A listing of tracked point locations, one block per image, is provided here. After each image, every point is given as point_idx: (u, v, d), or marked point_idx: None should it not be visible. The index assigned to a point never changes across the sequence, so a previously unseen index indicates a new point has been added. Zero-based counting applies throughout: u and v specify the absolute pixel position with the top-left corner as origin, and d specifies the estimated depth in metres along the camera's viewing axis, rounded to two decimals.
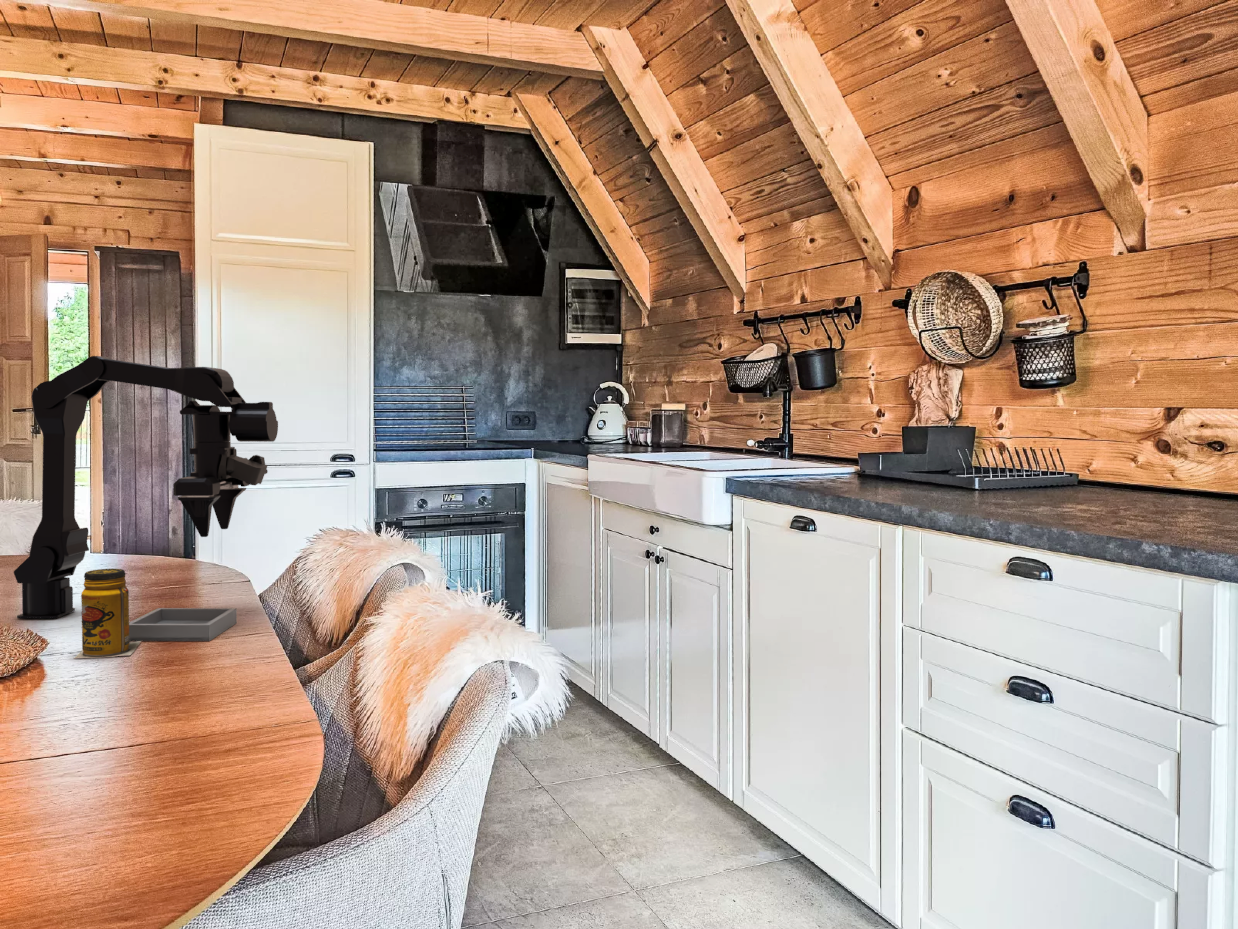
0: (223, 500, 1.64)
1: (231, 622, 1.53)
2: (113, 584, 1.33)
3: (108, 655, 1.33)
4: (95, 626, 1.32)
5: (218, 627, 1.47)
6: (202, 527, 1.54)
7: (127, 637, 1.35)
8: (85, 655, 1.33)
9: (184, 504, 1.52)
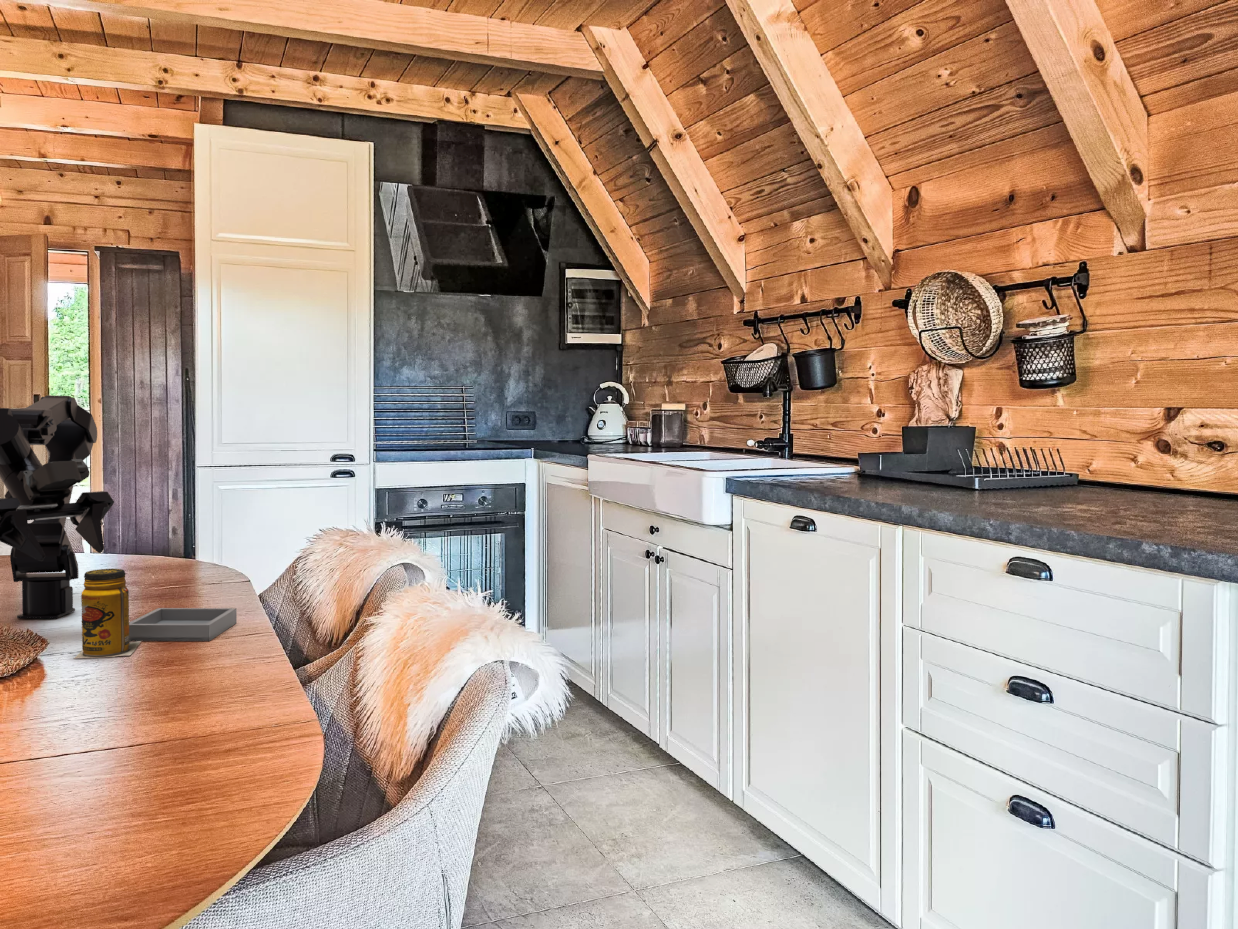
0: (88, 527, 1.45)
1: (231, 622, 1.53)
2: (113, 584, 1.33)
3: (108, 655, 1.33)
4: (95, 626, 1.32)
5: (218, 627, 1.47)
6: (33, 551, 1.35)
7: (127, 637, 1.35)
8: (85, 655, 1.33)
9: (4, 541, 1.35)
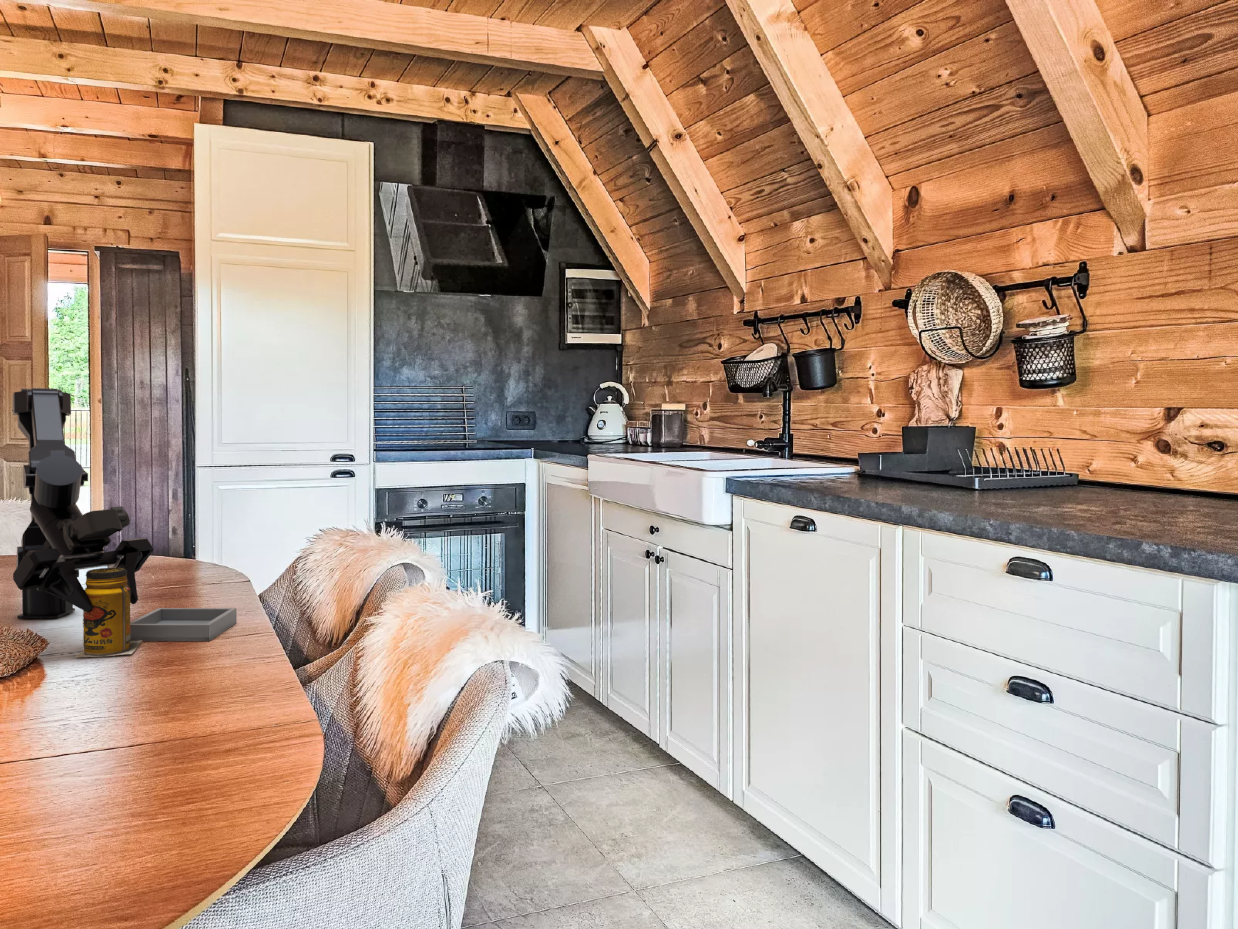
0: None
1: (231, 622, 1.53)
2: (114, 583, 1.33)
3: (110, 654, 1.33)
4: (97, 625, 1.32)
5: (218, 627, 1.47)
6: (81, 602, 1.32)
7: (128, 636, 1.36)
8: (86, 654, 1.33)
9: (51, 592, 1.32)
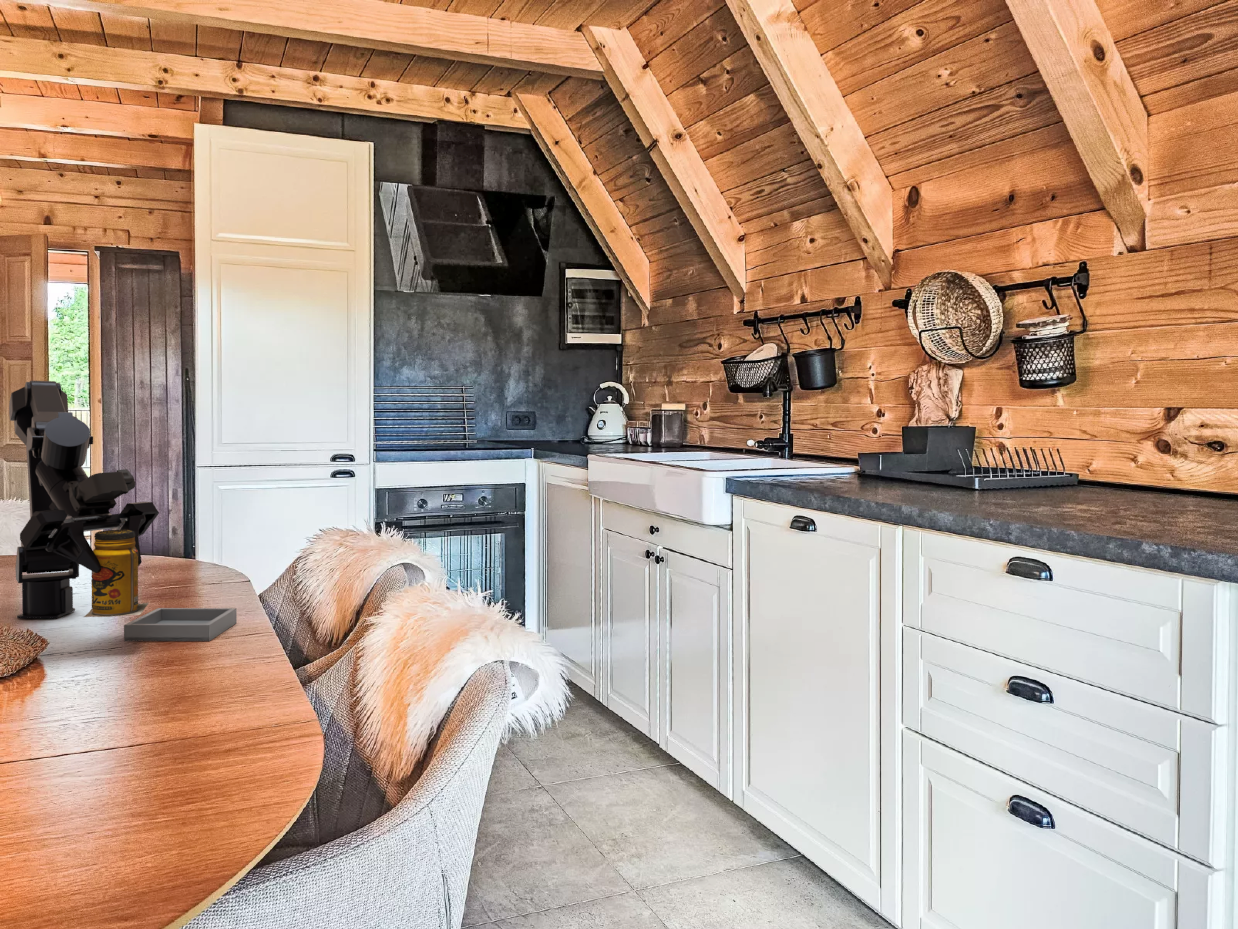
0: None
1: (231, 622, 1.53)
2: (123, 545, 1.35)
3: (118, 614, 1.34)
4: (105, 585, 1.34)
5: (218, 627, 1.47)
6: (89, 563, 1.33)
7: (136, 597, 1.37)
8: (95, 614, 1.34)
9: (60, 552, 1.34)
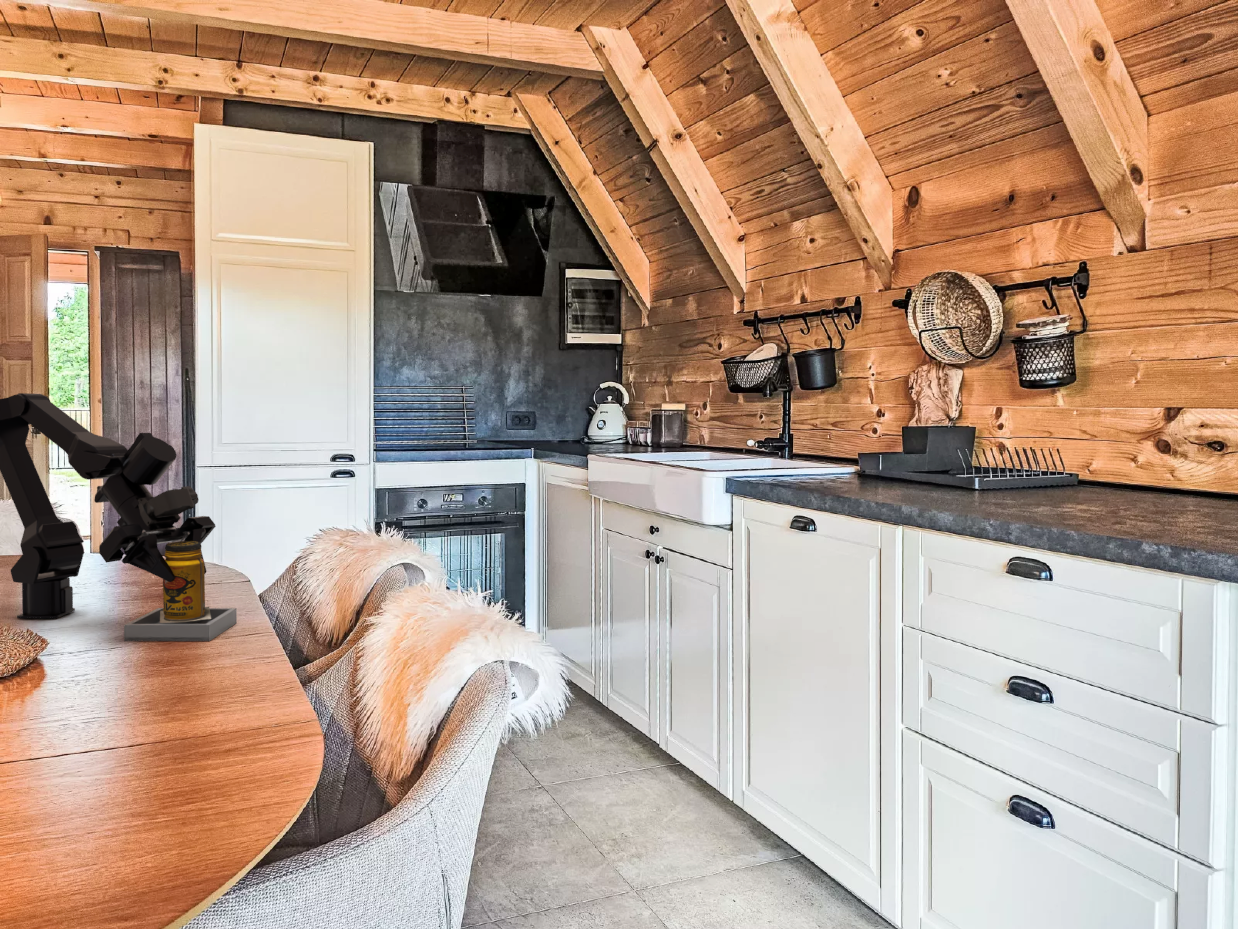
0: None
1: (231, 622, 1.53)
2: (194, 555, 1.46)
3: (191, 619, 1.46)
4: (179, 593, 1.45)
5: (218, 627, 1.47)
6: (164, 573, 1.44)
7: (204, 603, 1.49)
8: (169, 620, 1.46)
9: (134, 564, 1.44)
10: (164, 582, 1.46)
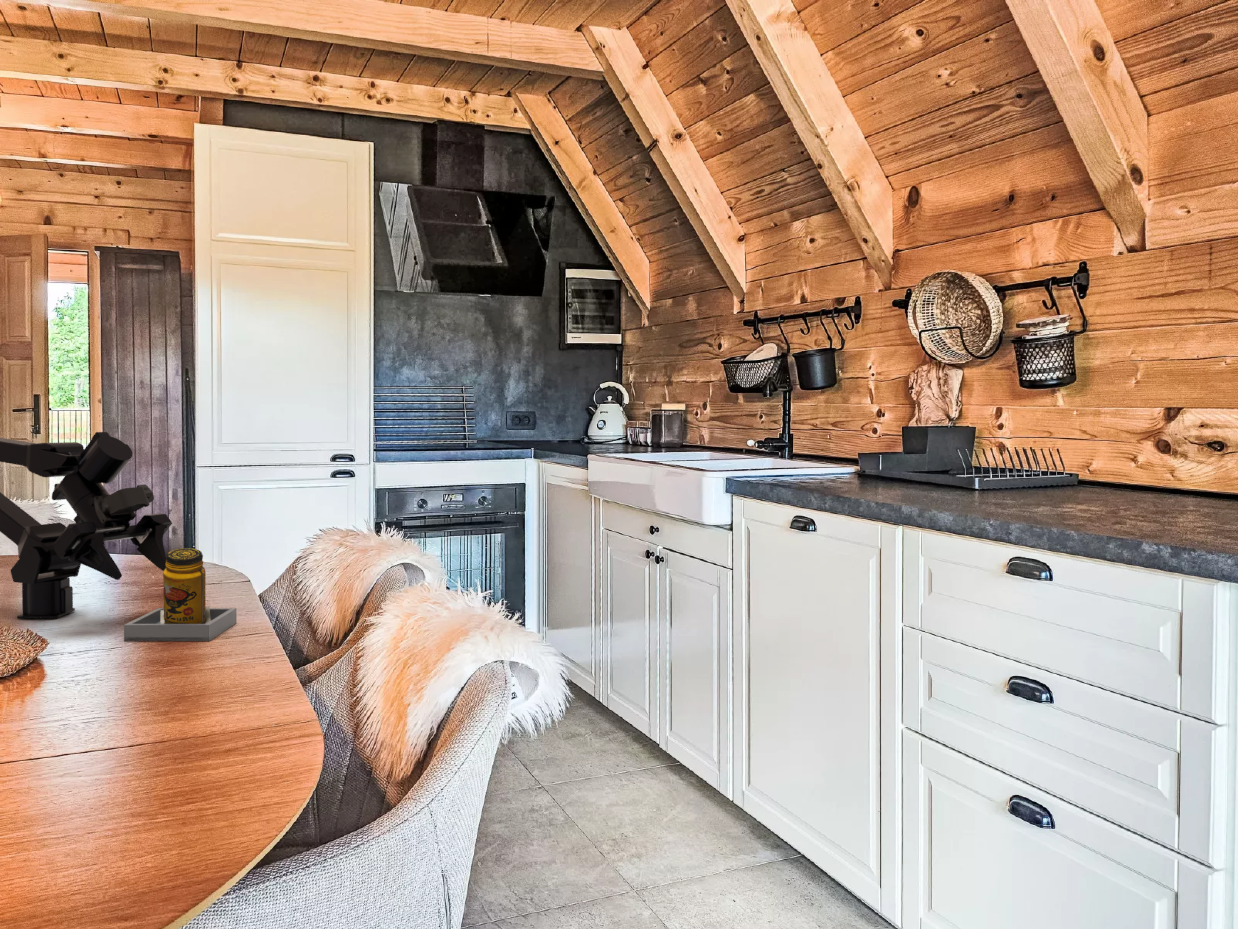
0: (151, 547, 1.57)
1: (231, 622, 1.53)
2: (195, 568, 1.45)
3: None
4: (180, 605, 1.45)
5: (218, 627, 1.47)
6: (110, 571, 1.46)
7: (205, 610, 1.49)
8: None
9: (81, 562, 1.47)
10: (165, 591, 1.45)
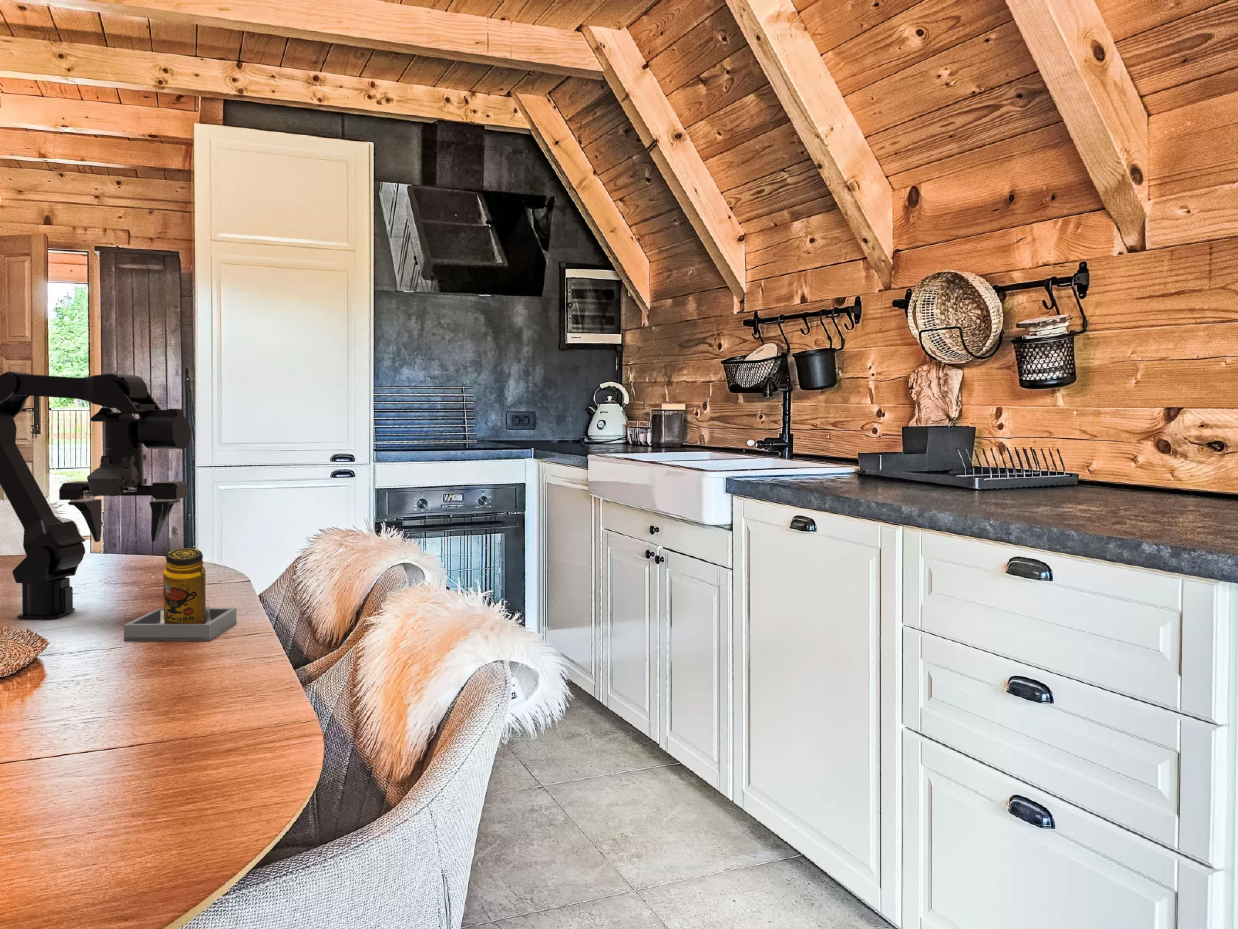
0: None
1: (231, 622, 1.53)
2: (195, 568, 1.45)
3: None
4: (180, 605, 1.45)
5: (218, 627, 1.47)
6: None
7: (205, 610, 1.49)
8: None
9: None
10: (165, 591, 1.45)
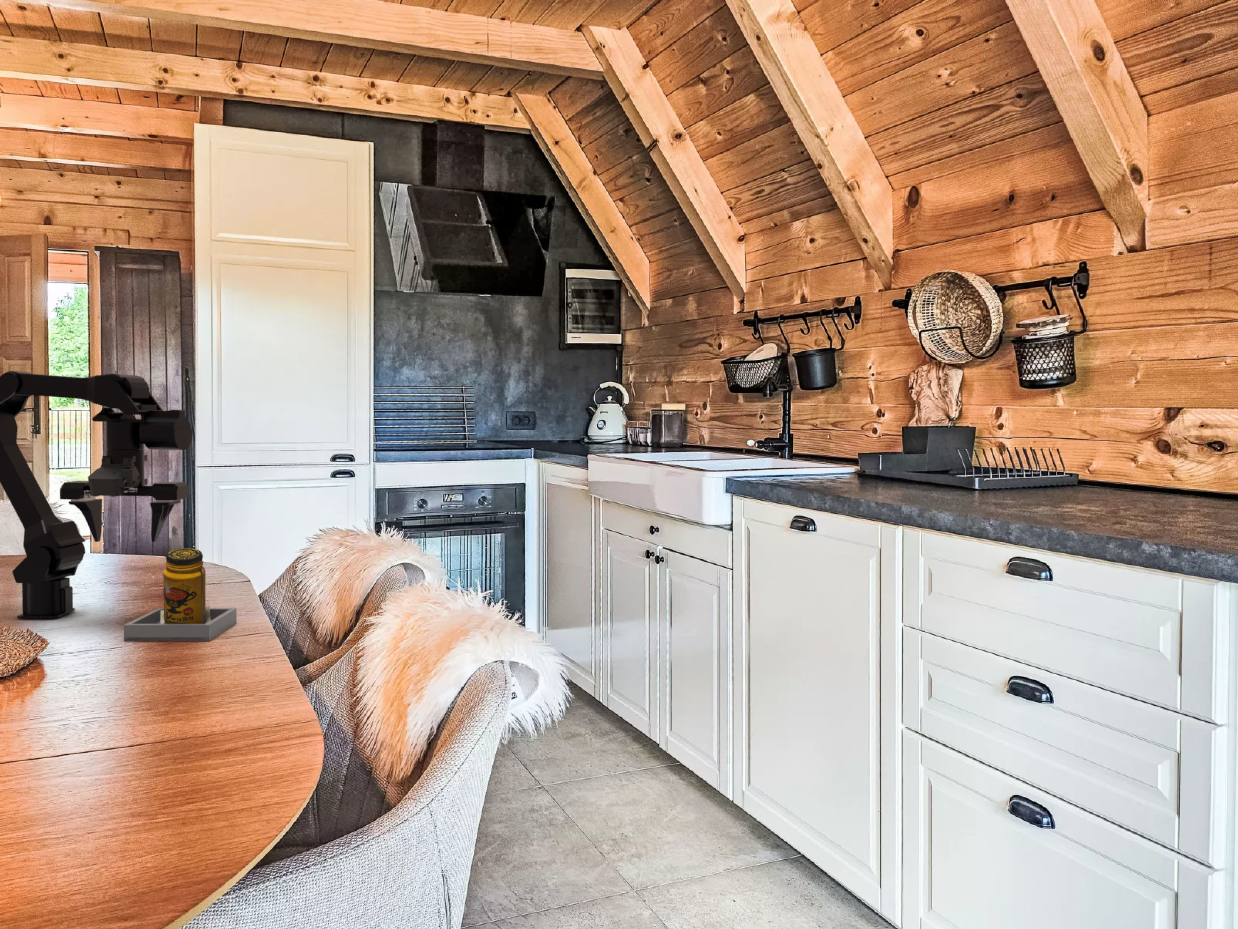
0: None
1: (231, 622, 1.53)
2: (195, 568, 1.45)
3: None
4: (180, 605, 1.45)
5: (218, 627, 1.47)
6: None
7: (205, 610, 1.49)
8: None
9: None
10: (165, 591, 1.45)
